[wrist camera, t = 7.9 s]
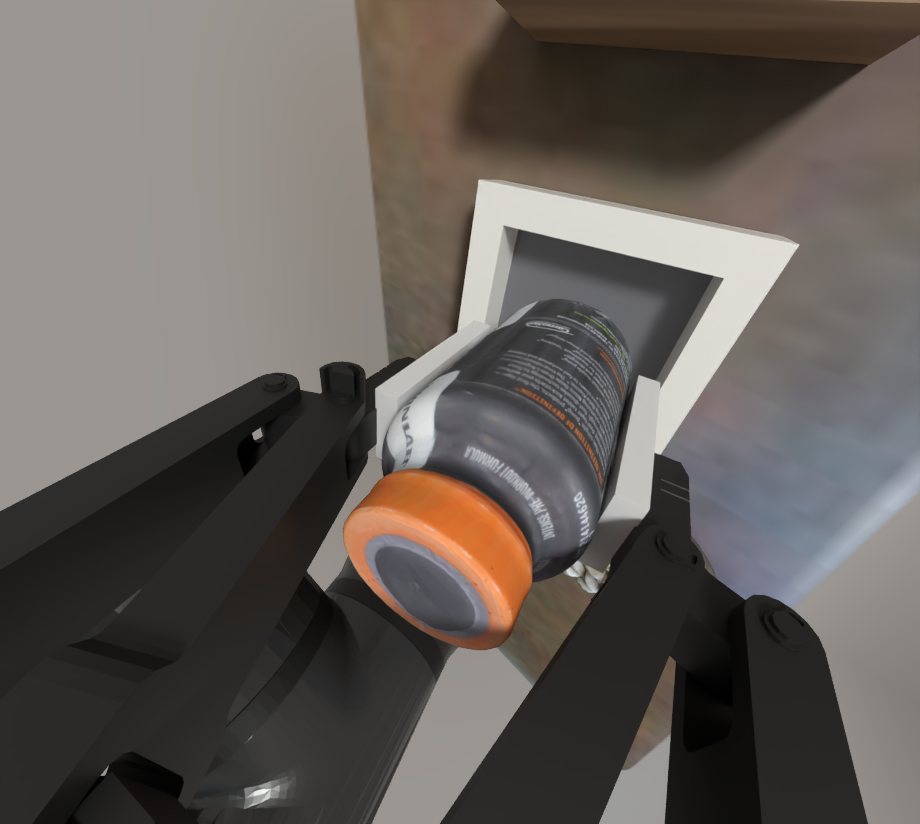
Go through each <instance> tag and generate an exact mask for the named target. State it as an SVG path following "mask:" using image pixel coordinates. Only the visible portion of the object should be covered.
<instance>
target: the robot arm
mask: <svg viewBox="0 0 920 824" xmlns="http://www.w3.org/2000/svg"><path fill="white" fill-rule="evenodd" d="M490 328H491V325H488V324H485V323H482V322H479V321H476V320H474V321H473V322H471V323H470V324H468V325H467V326H465V327H464V328H462V329H461V330H460V331H458V332H457V333H455V334H454V335H452V336H451V337H449V338H448V339H446V340H445V341H444V342H442V343H441V344H439V345H438V346H436V347H435V348H433V349H432V350H431V351H429V352H428V353H426V354H425V355H423V356H422V357H420V358H419V359H417V360H416V359H413V358H410V357H406V358H402V359H399V360H396V361H394V362H392V363H391V364H389V365H388V366H387V367H385V368H383V369H382V370H380V371H379V372H377V373H375V374H374V375H372V376H371V377H369V378H368V379H366V377H365V371H364V369H363V368H362V367H360V366H359V365H357V364H354V363H351V362H333V363H330V364H327V365H324V366H323V367H321V368H320V378H321V386H322V393H321V394H318V393H313V392H308V391H303V390H300V386H299V381H298V379H297V378H296V377H294V376H293V375H290V374H286V373H272V374H266V375H263V376H261V377H258V378H256V379H254V380H252V381H250V382H248V383H246V384H244V385H243V386H241V387H239V388H237V389H235V390H233V391H231V392H229V393H227V394H225V395H224V396H222V397H219V398H218V399H216V400H214V401H212V402H210V403H208V404H206V405H204V406H202V407H200V408H198V409H197V410H194V411H193V412H191V413H189V414H187V415H185V416H183V417H181V418H179V419H177V420H175V421H173V422H171V423H169V424H168V425H166V426H164V427H162V428H160V429H158V430H156V431H154V432H152V433H150V434H148V435H146V436H144V437H143V438H141V439H139V440H137V441H135V442H133V443H131V444H129V445H127V446H125V447H123V448H122V449H119V450H117V451H116V452H114V453H112V454H110V455H108V456H106V457H104V458H102V459H100V460H98V461H97V462H95V463H92V464H91V465H89V466H87V467H85V468H83V469H81V470H79V471H77V472H75V473H73V474H71V475H69V476H67V477H66V478H64V479H62V480H60V481H58V482H56V483H54V484H52V485H50V486H48V487H46V488H44V489H42V490H41V491H39V492H37V493H35V494H33V495H31V496H29V497H27V498H25V499H23V500H21V501H19V502H17V503H15V504H14V505H12V506H10V507H8V508H6V509H4V510H2V511H0V824H372V821H373V819H374V817H375V815H376V812H377V810H378V808H379V806H380V804H381V802H382V800H383V798H384V795H385V793H386V791H387V789H388V787H389V785H390V782H391V780H392V778H393V776H394V774H395V772H396V769H397V767H398V765H399V763H400V761H401V759H402V756H403V754H404V752H405V750H406V748H407V746H408V743H409V741H410V739H411V737H412V735H413V733H414V730H415V728H416V726H417V724H418V722H419V720H420V718H421V715H422V713H423V711H424V709H425V707H426V705H427V702H428V700H429V698H430V696H431V694H432V692H433V689H434V687H435V685H436V682H437V680H438V678H439V676H440V674H441V672H442V670H443V668H444V666H445V664H446V662H447V660H448V659H449V657H450V656H451V655H452V654H453V652H454V651H455V650H456V649H457V648H458V647H457V646H454V645H452V644H449V643H447V642H444V641H442V640H439V639H437V638H435V637H433V636H431V635H429V634H427V633H425V632H423V631H422V630H420V629H418V628H417V627H415V626H414V625H412V624H411V623H409V622H408V621H407V620H406V619H404V618H403V617H401V616H400V615H399V614H398V613H396V612H395V611H394V610H392V609H391V608H390V607H389V606H388V605H387V604H386V603H385V602H384V601H383V600H382V599H381V598H380V597H379V596H378V595H377V594H375V593H374V592H373V590H372V589H371V588H370V587H369V586H368V585H367V583H366V582H365V581H364V580H363V578H362V577H361V576H360V575H359V574H358V572H357V570H356V569H355V567H354V565H353V563H352V561H351V559H350V557H349V555H348V558H347V560H346V562H345V564H344V566H343V569H342V571H341V572H340V574H339V575H338V577H337V578H336V579H335V580H334V581H333V582H332V584H331V585H330V586H329V587H328V588H327V590H326V591H325V592H324V591H323V590H322V589H321V588H320V587H319V585H318V584H317V583H316V582H315V581H314V579H313V578H312V577H311V576H310V575H309V574H308V572H307V569H308V567H309V566H310V564H311V562H312V560H313V558H314V557H315V555H316V553H317V551H318V549H319V548H320V546H321V544H322V542H323V540H324V539H325V537H326V535H327V533H328V531H329V530H330V528H331V526H332V524H333V523H334V521H335V519H336V517H337V515H338V514H339V512H340V510H341V508H342V506H343V505H344V503H345V501H346V499H347V498H348V496H349V494H350V492H351V490H352V489H353V487H354V485H355V483H356V481H357V480H358V478H359V476H360V474H361V472H362V471H363V469H364V467H365V465H366V463H367V459H368V451H369V450H370V449H371V448H372V447H374V445H376V458H378V459H380V460H382V448H383V442H384V438H385V435H386V432H387V430H388V428H389V426H390V424H391V422H392V421H393V419H394V417H395V416H396V415H397V414H398V412H399V411H400V410H401V409H402V408H403V407H404V406H405V405H406V404H407V403H408V402H409V401H411V400H412V399H413V398H414V397H415V396H416V395H418V394H419V393H420V392H421V391H422V390H423V389H425V388H426V387H427V386H428V385H429V384H430V383H431V382H432V381H433V380H434V379H435V378H437V377H438V376H439V375H441V374H442V373H443V372H445V371H446V369H448V368H449V367H450V366H451V365H453V364H454V363H455V362H456V361H457V360H459V359H460V358H461V357H462V356H464V355H465V354H466V353H467V352H468V351H469V350H470V349H472V348H473V347H474V346H475V345H476V344H478V343H479V342H480V341H481V340H482V339H484V338H485V337H486V336H487V335H489V333H490ZM659 394H660V382H658V381H655V380H652V379H649V378H646V377H643V376H640V375H638V377H637V379H636V381H635V383H634V385H633V387H632V389H631V391H630V393H629V395H628V397H627V400H626V404H625V410H624V413H623V417H622V423H621V427H620V431H619V436H618V440H617V446H616V450H615V455H614V460H613V464H612V469H611V473H610V476H609V479H608V483H607V487H606V491H605V495H604V498H603V501H602V505H601V509H600V514H599V518H598V520H597V526H596V529H595V532H594V535H593V538H592V540H591V542H590V544H589V546H588V548H587V549H586V551H585V552H584V553H583V555H582V556H581V557H580V558H579V559H578V561H579V562H581V563H583V564H585V565H587V566H589V567H591V568H593V569H595V570H597V571H599V572H601V573H603V572H604V571H605V570H606V568H607V567H608V566H609V564H610V568H609V574H608V578H607V580H606V581H605V582H604V583H603V585H602V586H601V587H600V589H599V590H598V591H597V593H596V594H595V595H594V597H593V598H592V599H591V602H590V604H589V605H588V607H587V608H586V610H585V611H584V613H583V614H582V615H581V617H580V618H579V620H578V621H577V623H576V624H575V626H574V627H573V629H572V630H571V632H570V633H569V635H568V636H567V638H566V639H565V640H564V642H563V643H562V645H561V646H560V648H559V649H558V651H557V652H556V654H555V655H554V657H553V658H552V660H551V661H550V663H549V664H548V665H547V667H546V668H545V670H544V671H543V673H542V674H541V676H540V677H539V679H538V680H537V682H536V683H535V685H534V686H533V688H532V689H531V691H530V692H529V693H528V695H527V696H526V698H525V699H524V701H523V702H522V704H521V705H520V707H519V708H518V710H517V711H516V713H515V714H514V716H513V717H512V719H511V720H510V721H509V723H508V724H507V726H506V727H505V729H504V730H503V732H502V733H501V735H500V736H499V738H498V739H497V741H496V742H495V743H494V745H493V746H492V748H491V749H490V751H489V752H488V754H487V755H486V757H485V758H484V760H483V761H482V763H481V764H480V765H479V767H478V768H477V770H476V772H475V773H474V774H473V776H472V777H471V779H470V780H469V782H468V783H467V785H466V786H465V788H464V789H463V791H462V792H461V794H460V795H459V796H458V798H457V799H456V801H455V802H454V804H453V806H452V807H451V808H450V810H449V811H448V813H447V814H446V816H445V817H444V819H443V820H442V821H441V823H440V824H599V822H600V819H601V817H602V815H603V812H604V810H605V808H606V805H607V803H608V800H609V798H610V796H611V793H612V791H613V789H614V786H615V783H616V781H617V779H618V777H619V774H620V772H621V769H622V767H623V765H624V762H625V760H626V758H627V755H628V753H629V750H630V748H631V746H632V743H633V741H634V739H635V736H636V734H637V731H638V729H639V727H640V724H641V722H642V720H643V717H644V715H645V712H646V710H647V708H648V705H649V703H650V700H651V698H652V696H653V693H654V691H655V689H656V686H657V684H658V681H659V679H660V677H661V674H662V672H663V670H664V667H665V665H666V662H667V660H668V658H669V656H671V657H672V658H673V659H674V660H675V661H676V670H675V684H674V698H673V713H672V727H671V742H670V756H669V770H668V784H667V799H666V813H665V824H868V822H867V819H866V814H865V810H864V806H863V802H862V798H861V794H860V790H859V786H858V782H857V778H856V774H855V770H854V766H853V762H852V758H851V753H850V750H849V745H848V742H847V738H846V733H845V729H844V726H843V722H842V718H841V713H840V709H839V705H838V701H837V697H836V693H835V689H834V685H833V681H832V677H831V673H830V669H829V665H828V661H827V657H826V653H825V650H824V648H823V646H822V644H821V641H820V639H819V637H818V636H817V635H816V633H815V632H814V631H813V629H812V628H811V627H810V625H809V624H808V623H807V622H806V621H805V620H804V619H803V618H802V617H801V616H800V615H798V614H797V613H796V612H795V611H794V610H793V609H791V608H790V607H788V606H786V605H785V604H783V603H782V602H780V601H779V600H776V599H773V598H771V597H768V596H765V595H752V596H751V597H749V598H748V599H747V600H744V599H743V598H742V597H740V596H739V595H738V594H736V593H735V592H734V591H732V590H731V589H729V588H728V587H727V586H725V585H724V584H723V583H721V582H720V581H719V580H717V579H716V578H715V577H714V576H713V575H711V574H710V573H709V572H708V571H707V570H706V568H705V561H704V558H703V556H702V553H701V551H700V550H699V549H698V547H697V546H696V545H695V544H694V542H693V541H692V540H691V526H690V502H689V500H690V499H689V492H688V491H689V476H688V475H687V473H686V471H685V469H684V468H683V466H682V464H681V463H680V462H677V461H675V460H672V459H670V458H667V457H665V456H662V455H660V454H657V453H655V441H656V429H657V417H658V405H659ZM260 427H261V431H262V435H263V436H262V437H261V438H259V439H257V440H254V439H253V435H252V433H253V432H254V431H256V430H257V429H259V428H260ZM107 766H109V767H108V770H107V773H106V775H105V776H100V775H101V774H102V773H103V772H104V770H105V769H106V768H107Z"/></svg>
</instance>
